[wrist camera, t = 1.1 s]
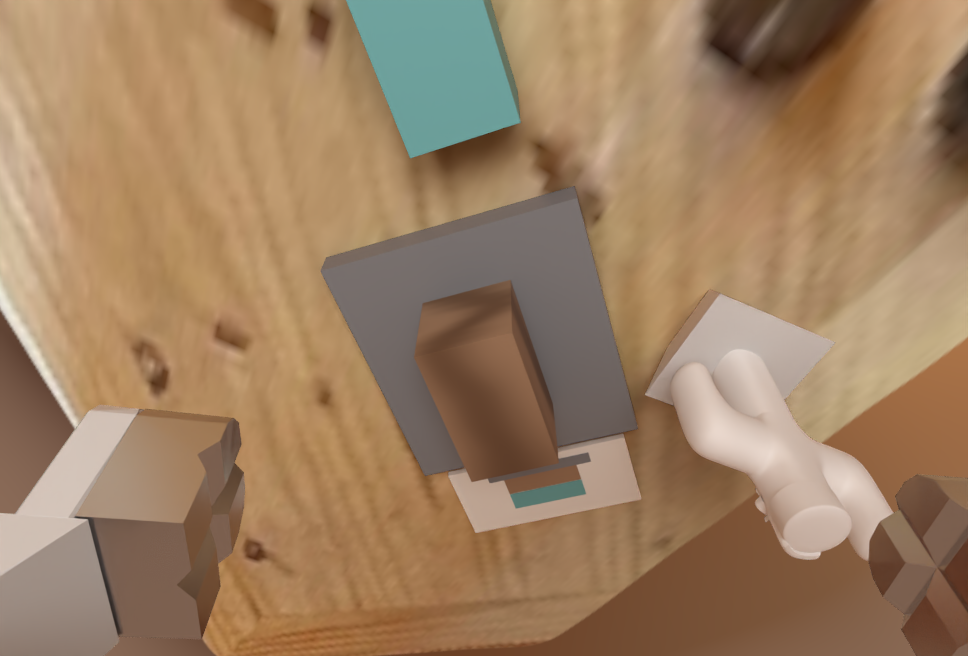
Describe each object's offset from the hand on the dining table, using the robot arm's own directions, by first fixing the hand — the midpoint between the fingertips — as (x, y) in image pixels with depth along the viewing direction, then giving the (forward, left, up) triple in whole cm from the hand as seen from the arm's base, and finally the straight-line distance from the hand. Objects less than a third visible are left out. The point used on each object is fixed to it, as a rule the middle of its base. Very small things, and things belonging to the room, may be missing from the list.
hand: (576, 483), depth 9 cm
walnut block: (+6, +16, -27) cm, 32 cm away
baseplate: (+6, +16, -28) cm, 33 cm away
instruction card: (+6, +29, -28) cm, 41 cm away
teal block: (+3, -2, -28) cm, 29 cm away
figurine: (-7, +20, -28) cm, 35 cm away
